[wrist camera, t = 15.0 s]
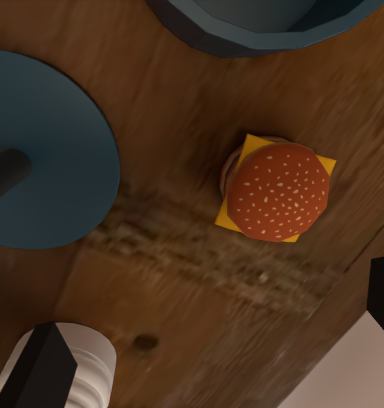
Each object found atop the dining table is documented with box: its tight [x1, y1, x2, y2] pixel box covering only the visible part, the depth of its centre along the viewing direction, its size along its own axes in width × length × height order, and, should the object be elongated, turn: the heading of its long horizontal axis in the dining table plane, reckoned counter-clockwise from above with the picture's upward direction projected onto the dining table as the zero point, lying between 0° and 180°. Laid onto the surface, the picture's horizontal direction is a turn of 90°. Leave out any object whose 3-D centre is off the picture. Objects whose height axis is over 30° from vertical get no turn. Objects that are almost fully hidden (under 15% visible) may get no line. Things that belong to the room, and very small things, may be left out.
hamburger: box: [214, 134, 336, 242], centre depth 27 cm, size 9×10×7 cm
